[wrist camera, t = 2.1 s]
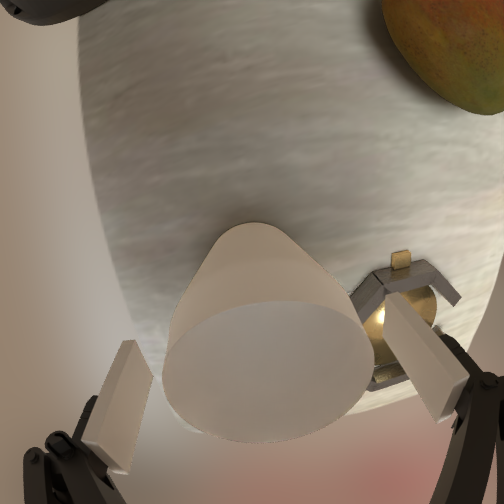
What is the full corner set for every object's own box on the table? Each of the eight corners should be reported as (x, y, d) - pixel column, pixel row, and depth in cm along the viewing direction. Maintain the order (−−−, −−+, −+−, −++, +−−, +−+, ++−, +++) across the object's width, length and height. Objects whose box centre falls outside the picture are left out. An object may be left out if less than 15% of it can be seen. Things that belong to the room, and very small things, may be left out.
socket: (328, 266, 22) (336, 280, 20) (455, 239, 22) (469, 248, 20) (331, 393, 28) (336, 408, 26) (432, 361, 28) (440, 373, 26)
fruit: (379, -40, 12) (440, -92, 3) (486, 43, 15) (561, 34, 6) (340, 54, 16) (416, 7, 7) (462, 138, 19) (552, 157, 9)
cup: (193, 313, 23) (172, 440, 12) (192, 202, 20) (142, 289, 9) (304, 316, 24) (345, 437, 13) (321, 209, 21) (407, 295, 9)
